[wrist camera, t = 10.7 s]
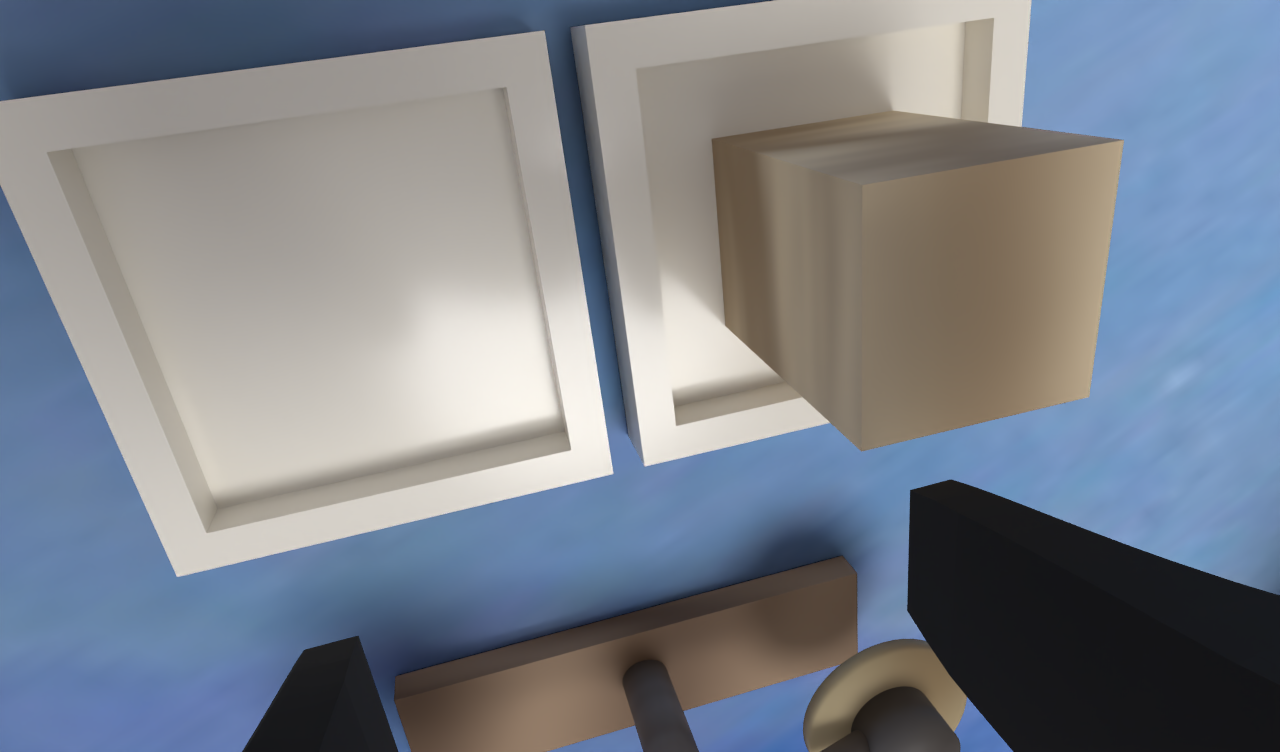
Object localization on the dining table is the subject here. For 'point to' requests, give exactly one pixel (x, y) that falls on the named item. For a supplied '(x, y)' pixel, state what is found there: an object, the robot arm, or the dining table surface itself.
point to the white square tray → (319, 288)
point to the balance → (691, 675)
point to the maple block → (917, 266)
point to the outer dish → (684, 172)
